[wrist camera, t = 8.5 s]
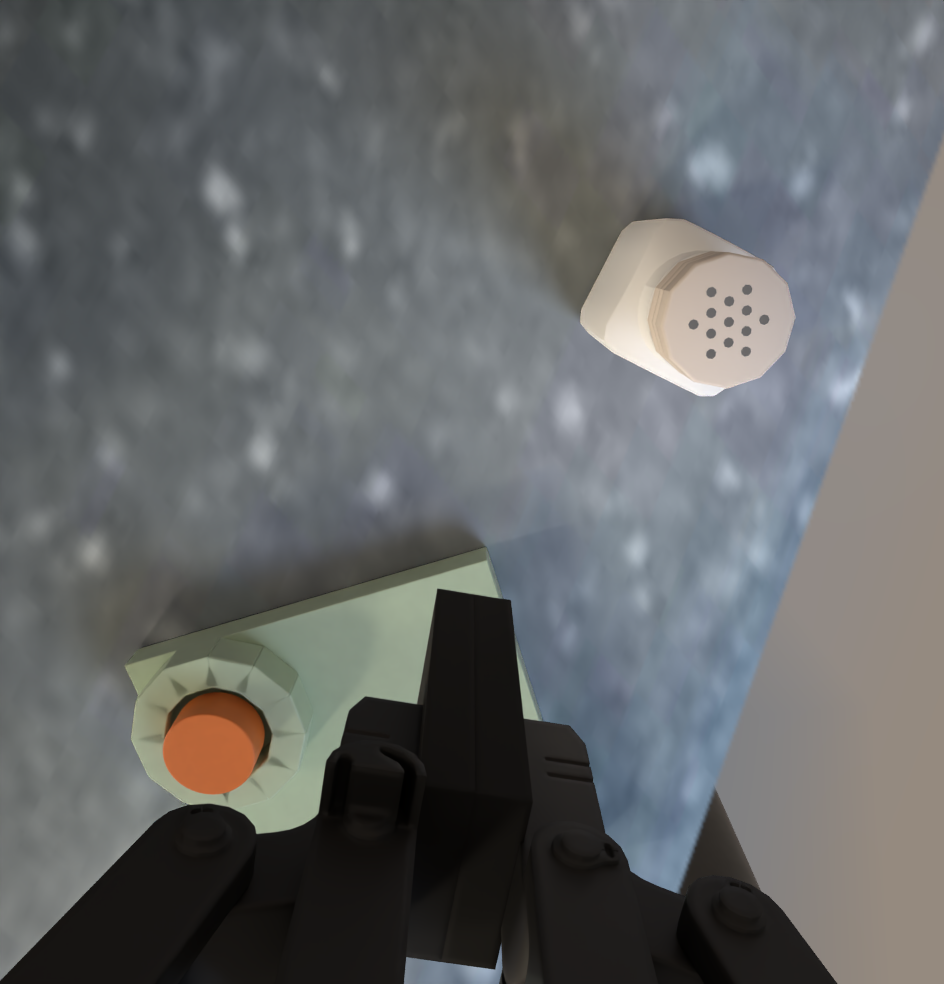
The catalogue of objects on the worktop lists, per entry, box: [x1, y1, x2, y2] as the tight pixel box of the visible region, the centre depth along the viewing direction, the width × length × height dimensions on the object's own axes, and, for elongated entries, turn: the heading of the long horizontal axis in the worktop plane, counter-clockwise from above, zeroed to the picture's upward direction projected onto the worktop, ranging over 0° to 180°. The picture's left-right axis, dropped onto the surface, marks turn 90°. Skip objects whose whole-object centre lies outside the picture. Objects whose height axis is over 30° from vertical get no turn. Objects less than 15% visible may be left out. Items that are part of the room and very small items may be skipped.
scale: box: [125, 547, 543, 834], centre depth 34 cm, size 14×14×3 cm
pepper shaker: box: [580, 218, 795, 396], centre depth 25 cm, size 4×4×10 cm
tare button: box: [163, 692, 265, 795], centre depth 31 cm, size 3×3×2 cm
